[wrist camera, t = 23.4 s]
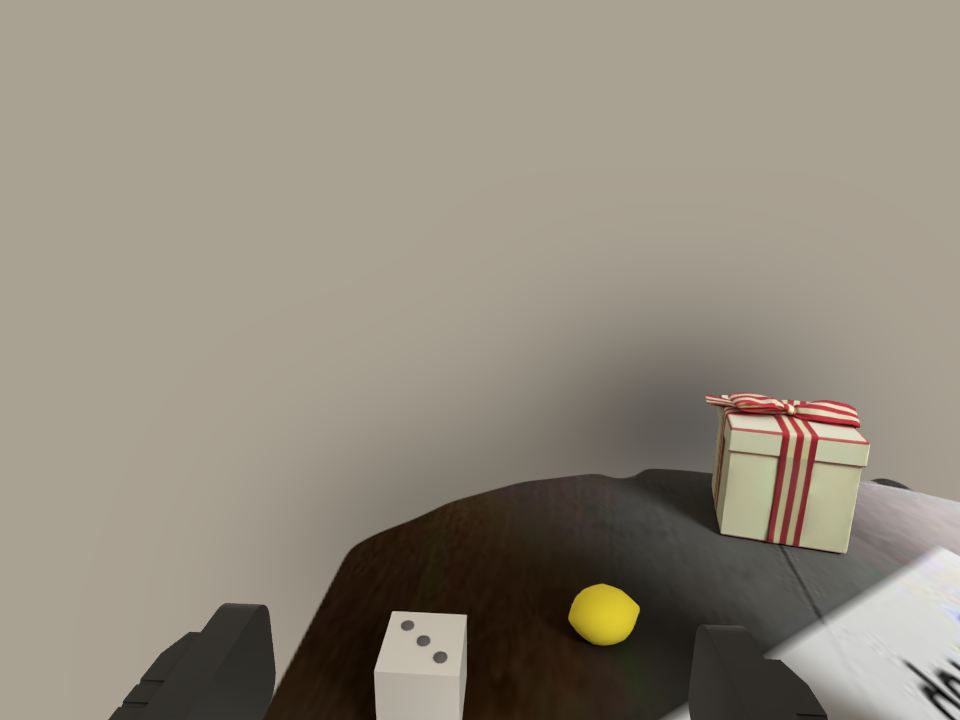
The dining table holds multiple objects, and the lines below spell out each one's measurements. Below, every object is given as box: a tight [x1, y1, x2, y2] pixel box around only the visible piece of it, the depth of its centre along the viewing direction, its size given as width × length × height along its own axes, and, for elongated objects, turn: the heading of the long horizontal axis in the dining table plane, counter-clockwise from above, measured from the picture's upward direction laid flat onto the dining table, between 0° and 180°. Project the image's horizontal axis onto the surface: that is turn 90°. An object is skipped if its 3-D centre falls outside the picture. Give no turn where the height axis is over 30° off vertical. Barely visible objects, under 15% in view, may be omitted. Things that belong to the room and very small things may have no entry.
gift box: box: [706, 393, 870, 554], centre depth 74 cm, size 17×18×17 cm
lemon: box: [568, 584, 640, 645], centre depth 53 cm, size 7×5×5 cm
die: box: [374, 611, 467, 720], centre depth 45 cm, size 6×6×7 cm
